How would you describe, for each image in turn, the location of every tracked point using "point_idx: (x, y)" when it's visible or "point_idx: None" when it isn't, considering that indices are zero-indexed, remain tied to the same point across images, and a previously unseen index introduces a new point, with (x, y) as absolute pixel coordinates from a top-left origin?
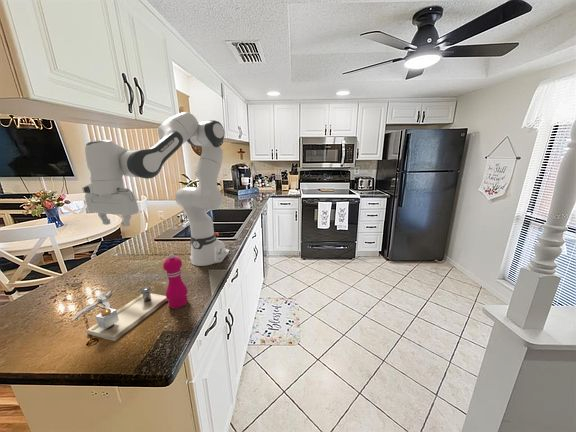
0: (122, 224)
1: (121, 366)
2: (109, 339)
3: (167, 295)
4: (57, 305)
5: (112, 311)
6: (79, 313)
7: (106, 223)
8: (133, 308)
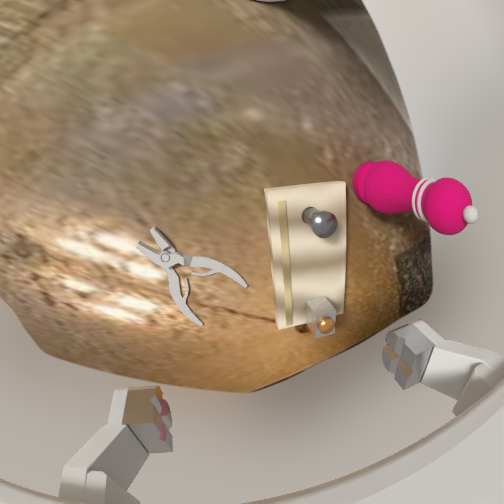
0: (394, 372)
1: (382, 321)
2: None
3: (385, 213)
4: (97, 312)
5: (334, 316)
6: (185, 308)
7: (170, 418)
8: (305, 252)
